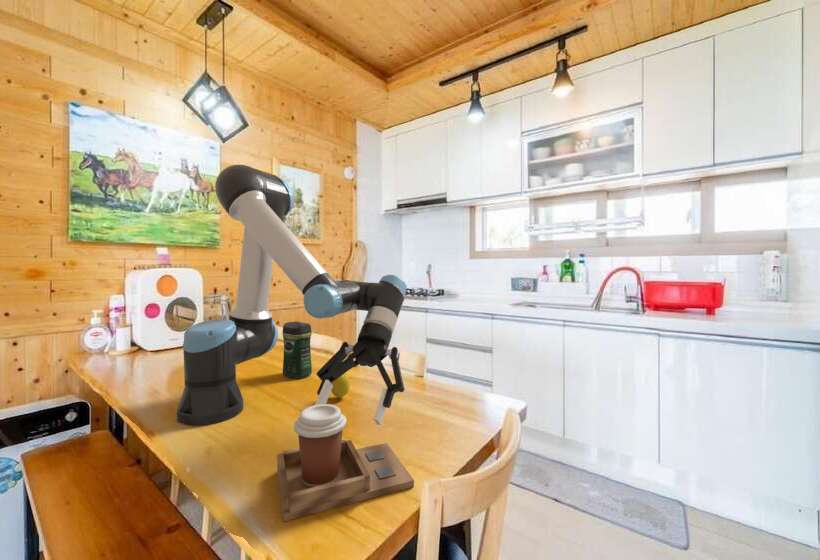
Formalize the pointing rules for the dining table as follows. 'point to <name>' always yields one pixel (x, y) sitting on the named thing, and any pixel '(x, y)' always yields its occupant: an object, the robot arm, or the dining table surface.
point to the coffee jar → (297, 350)
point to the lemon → (341, 386)
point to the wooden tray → (341, 480)
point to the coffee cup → (320, 443)
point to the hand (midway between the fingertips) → (346, 416)
